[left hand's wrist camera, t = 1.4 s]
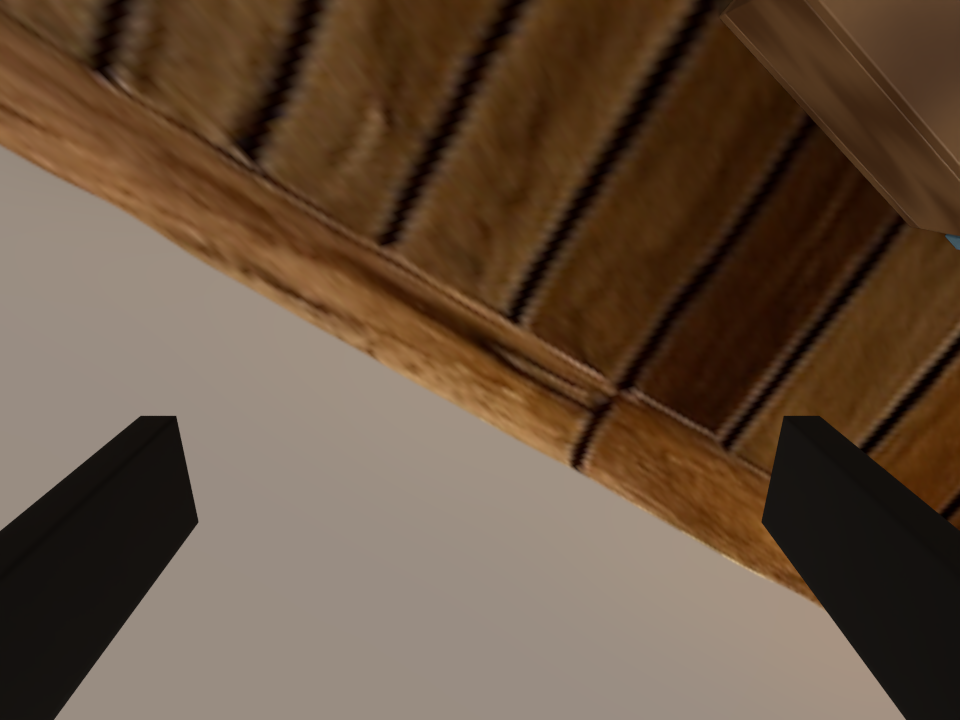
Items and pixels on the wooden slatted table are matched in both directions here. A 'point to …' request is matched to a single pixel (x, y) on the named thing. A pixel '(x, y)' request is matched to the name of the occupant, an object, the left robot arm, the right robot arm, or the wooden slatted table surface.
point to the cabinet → (873, 89)
